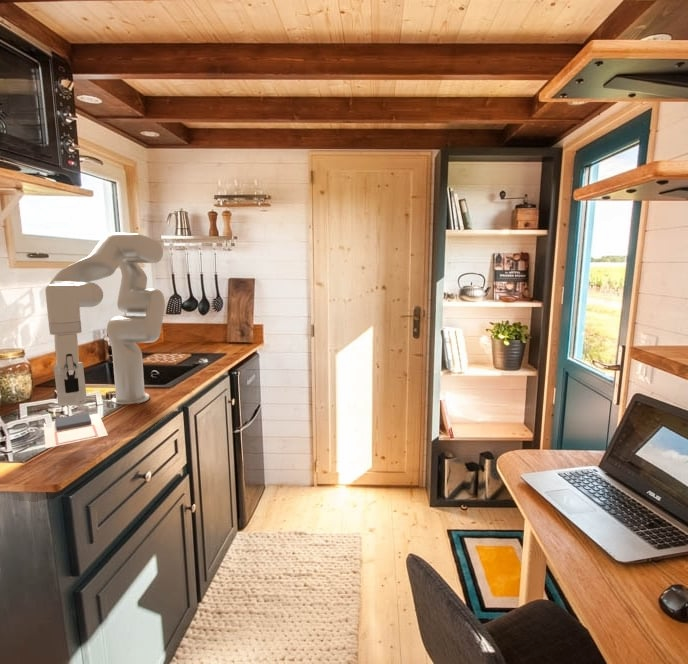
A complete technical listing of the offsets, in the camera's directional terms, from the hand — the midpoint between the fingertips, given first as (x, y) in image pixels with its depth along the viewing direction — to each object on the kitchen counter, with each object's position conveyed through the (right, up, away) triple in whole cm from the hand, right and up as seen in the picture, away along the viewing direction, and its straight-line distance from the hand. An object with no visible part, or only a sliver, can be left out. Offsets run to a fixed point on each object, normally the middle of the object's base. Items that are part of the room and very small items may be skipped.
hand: (71, 388), depth 119 cm
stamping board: (-3, -14, +6) cm, 16 cm away
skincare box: (0, -5, +1) cm, 5 cm away
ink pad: (-6, -12, +11) cm, 17 cm away
